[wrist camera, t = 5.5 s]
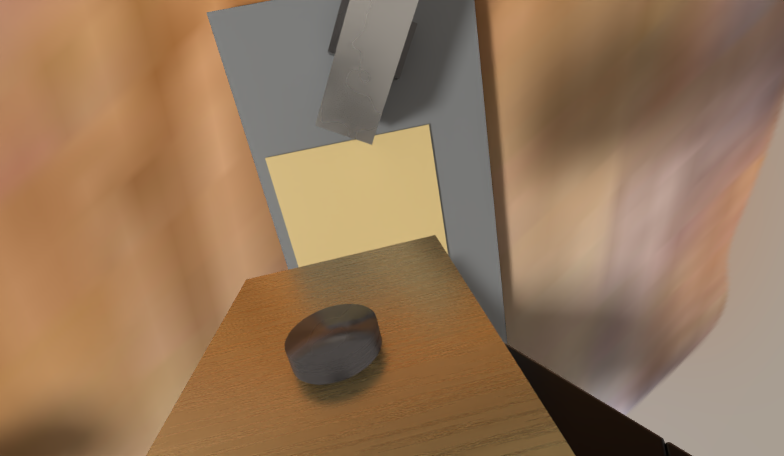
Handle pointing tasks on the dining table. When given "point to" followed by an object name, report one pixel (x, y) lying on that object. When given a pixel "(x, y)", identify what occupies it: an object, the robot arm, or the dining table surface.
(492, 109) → the dining table surface
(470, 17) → the board
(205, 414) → the block
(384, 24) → the wood-capped gray bar
